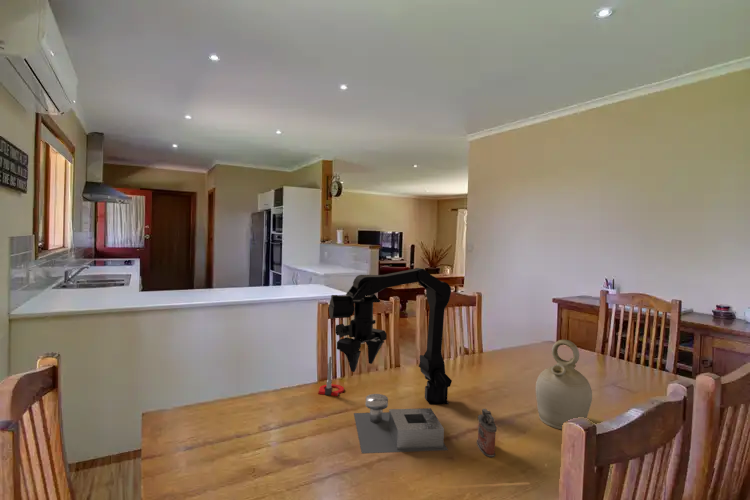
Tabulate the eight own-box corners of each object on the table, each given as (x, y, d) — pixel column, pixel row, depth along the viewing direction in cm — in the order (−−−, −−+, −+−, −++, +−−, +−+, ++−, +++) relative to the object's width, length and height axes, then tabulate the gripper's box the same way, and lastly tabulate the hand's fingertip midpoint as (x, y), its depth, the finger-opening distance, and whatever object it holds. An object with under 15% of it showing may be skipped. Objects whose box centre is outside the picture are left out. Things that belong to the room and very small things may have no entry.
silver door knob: (385, 415, 121) (385, 393, 121) (388, 425, 115) (389, 402, 114) (363, 415, 120) (364, 393, 120) (366, 426, 114) (367, 403, 113)
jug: (566, 438, 112) (572, 349, 111) (522, 415, 126) (527, 335, 125) (601, 428, 119) (607, 344, 118) (556, 407, 133) (561, 331, 132)
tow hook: (323, 386, 144) (315, 395, 134) (325, 349, 144) (317, 356, 134) (346, 388, 142) (340, 398, 133) (348, 351, 142) (342, 358, 133)
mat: (425, 412, 125) (425, 411, 125) (448, 451, 103) (448, 450, 103) (353, 414, 122) (353, 413, 121) (361, 454, 100) (361, 453, 100)
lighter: (474, 442, 108) (476, 405, 108) (486, 442, 108) (488, 405, 108) (484, 459, 100) (486, 419, 100) (498, 458, 100) (500, 419, 100)
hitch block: (430, 425, 116) (430, 408, 115) (443, 448, 104) (444, 428, 103) (388, 426, 114) (389, 409, 114) (396, 449, 102) (397, 430, 102)
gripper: (359, 308, 136) (358, 355, 136) (322, 318, 120) (321, 370, 121) (388, 313, 129) (386, 361, 130) (353, 323, 114) (351, 378, 115)
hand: (362, 367), depth 124 cm, fingers open, 9 cm apart
